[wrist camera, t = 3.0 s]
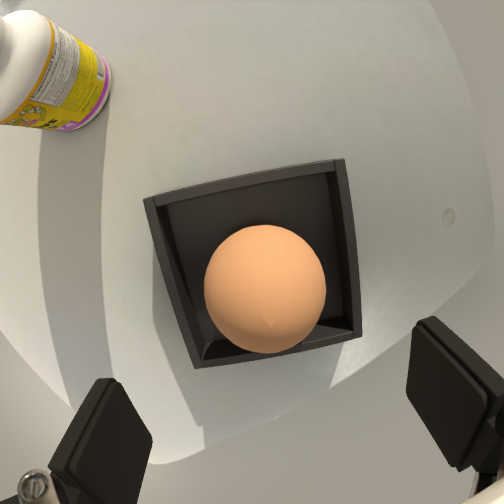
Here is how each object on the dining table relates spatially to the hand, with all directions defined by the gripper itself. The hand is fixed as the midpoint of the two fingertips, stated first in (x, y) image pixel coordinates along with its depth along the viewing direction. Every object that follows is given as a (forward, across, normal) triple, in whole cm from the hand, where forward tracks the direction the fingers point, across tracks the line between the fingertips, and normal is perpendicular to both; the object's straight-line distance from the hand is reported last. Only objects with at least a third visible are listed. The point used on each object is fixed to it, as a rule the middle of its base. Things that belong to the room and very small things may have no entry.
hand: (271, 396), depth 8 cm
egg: (+13, 0, 0) cm, 13 cm away
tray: (+14, 0, 0) cm, 14 cm away
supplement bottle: (+14, +11, -16) cm, 24 cm away
